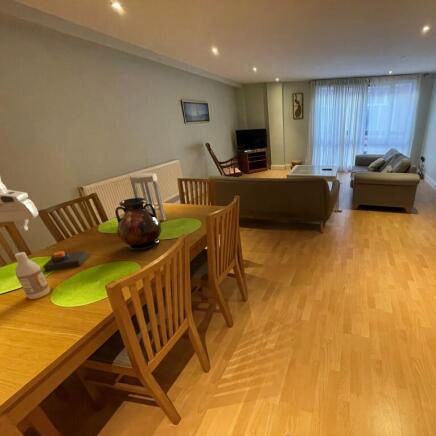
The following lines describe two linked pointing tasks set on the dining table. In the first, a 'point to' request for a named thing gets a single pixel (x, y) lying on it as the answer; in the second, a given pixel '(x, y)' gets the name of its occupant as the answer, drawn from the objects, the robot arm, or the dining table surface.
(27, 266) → the bath foam
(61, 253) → the button
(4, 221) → the robot arm
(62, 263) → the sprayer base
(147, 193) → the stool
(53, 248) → the dining table surface
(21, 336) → the dining table surface
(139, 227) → the amphora vase
